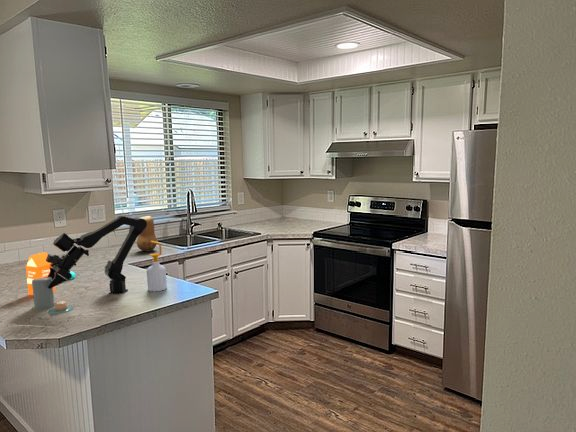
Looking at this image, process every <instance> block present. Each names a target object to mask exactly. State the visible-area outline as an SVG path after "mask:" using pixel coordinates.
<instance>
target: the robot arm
mask: <svg viewBox="0 0 576 432" xmlns="http://www.w3.org/2000/svg"><path fill="white" fill-rule="evenodd" d="M124 225H126V226H129V229H128V234H127V235H126V237H125V239H124V241H123V242H122V245H121V246H120V248H119V249H118V251H117V253H116V255H115V257H114V258H113V260H108V261H107V264H105V266H104V274H105V276H107V277H108V278H109V279H110V280H109V283H108V284H109V292H108V294H109V295H122V294H124V293H126V292H127V291H128V290H129V289H127V286H126V278H127V277H126V276H125V275H124V274H122V272H123V266H124V263H125V260H126V258H127V257H128V255H129V253H130V251H131V249H132V247H133V246H134V244H135V242H136V241H137V239H138V236H139V235H140V234H141V233H142V232H143V231H144V230H145V228H146V227H147V222H146V220H144V219H142V218H141V217H137V216H136V217H134V218H133V217H129V216H124V215H118V217H116V218H114V219H113V220H112V221H109V222H108V223H106V224H104V225H102V226H100V227H99V228H97V229H95V230H93V231H90V232H87V233H85V234H82V235H81V236H80V237H76V238H71V237H70V236H69V235H68V234H67V233H66V232H63V233H62V234H61V235H59V236H58V237H56V239H55V240H54V241H53V242H52V245H53V246H54V247H56V248H57V249H59V250H60V251H61V252H63V253H65V252H67V253H66V254H64V255H62V256H60V255H58V254H57V255H56V254H49V253H47V255H48V256H47V258H46V261H47V262H48V263H51V264H50V266H51V267H50V266H49V268H50V272H49V274H48V276H47V277H51V278H52V282H51V283H50V285H49V286H48V288H49V289H51V288H53V287H55V288H56V287H57V286H59V285H61V284H63V283H65V282H67V281H71V280H72V279H71V277H72V274H71V273H70V271H71V270H72V268H73V267H75V266H77V263H78V262H79V260H81V258H82V257H83V256H84V255H85V256H87V257H89V256H90V253H89V249H91V248H93V247H94V246H95V245H96V244H98V243H99V241H100V240H101V239H102V238H104V237H105V236H107V235H109V234H110V233H112V232H114V231H115V230H117V229H119V228H120V227H122V226H124ZM76 245H77V246H76ZM66 279H67V280H66Z"/></svg>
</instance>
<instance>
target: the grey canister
mask: <svg viewBox="0 0 576 432" xmlns="http://www.w3.org/2000/svg"><path fill="white" fill-rule="evenodd" d="M51 282H52V278H51V277H41V278H36V279H33V280H32V289H33V295H32V297H33V303H34V304H33V305H34V306H33V307H35V309H38V310H40V311H42V310H41V309H47V308H51V307H53V306H54V303H56V302H55V294H54V293H55V292H53V288H51V289H49V288H48V286H49V285H50V283H51ZM51 309H52V308H51ZM47 310H48V309H47Z"/></svg>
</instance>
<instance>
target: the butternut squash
mask: <svg viewBox="0 0 576 432" xmlns="http://www.w3.org/2000/svg"><path fill="white" fill-rule="evenodd" d="M140 218H142V219H144V220H146V222H147V227H146V228H145V230H144V231H143V232H142V233H141V234H140V235H139V236H138V237H137V238H136V246H137V248H138V249H139V250H141V251H143V252H151V251H153V250H154V249H156V247H157V245H158V244H156V243H152V242H151V241H157V242H158V240H157V237H156V234H155V233H156V232H155V223H154V222H155V220H154V218H153V217H152V216H151V215H147V216H146V215H145V216H142V217H140Z"/></svg>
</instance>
